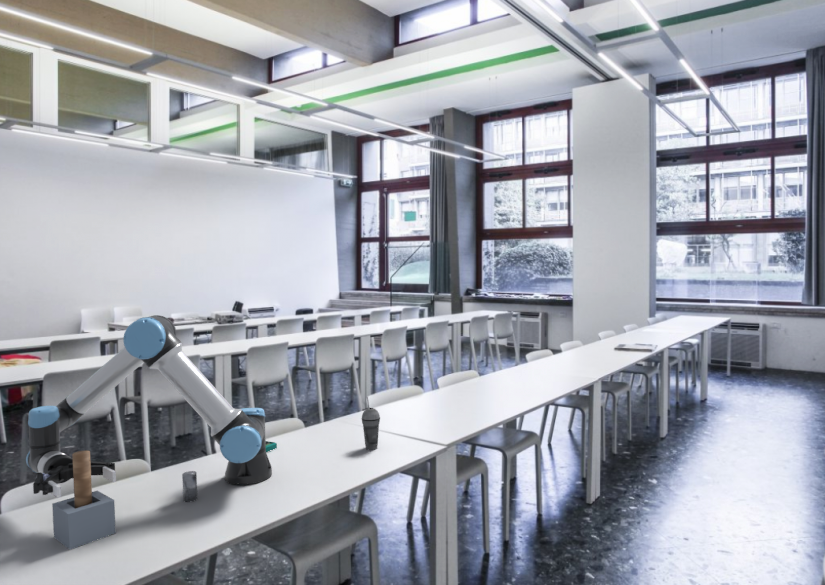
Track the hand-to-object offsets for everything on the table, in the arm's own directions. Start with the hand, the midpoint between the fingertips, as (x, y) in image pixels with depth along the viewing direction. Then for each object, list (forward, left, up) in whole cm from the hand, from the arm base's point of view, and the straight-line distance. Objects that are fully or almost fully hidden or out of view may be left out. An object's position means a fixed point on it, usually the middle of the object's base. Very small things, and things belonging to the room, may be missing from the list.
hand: (87, 484), depth 145 cm
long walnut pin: (0, -4, -14) cm, 15 cm away
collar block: (0, -3, -14) cm, 15 cm away
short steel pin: (-30, -3, -14) cm, 33 cm away
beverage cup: (-99, +7, -15) cm, 100 cm away
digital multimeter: (-72, -30, -15) cm, 80 cm away
